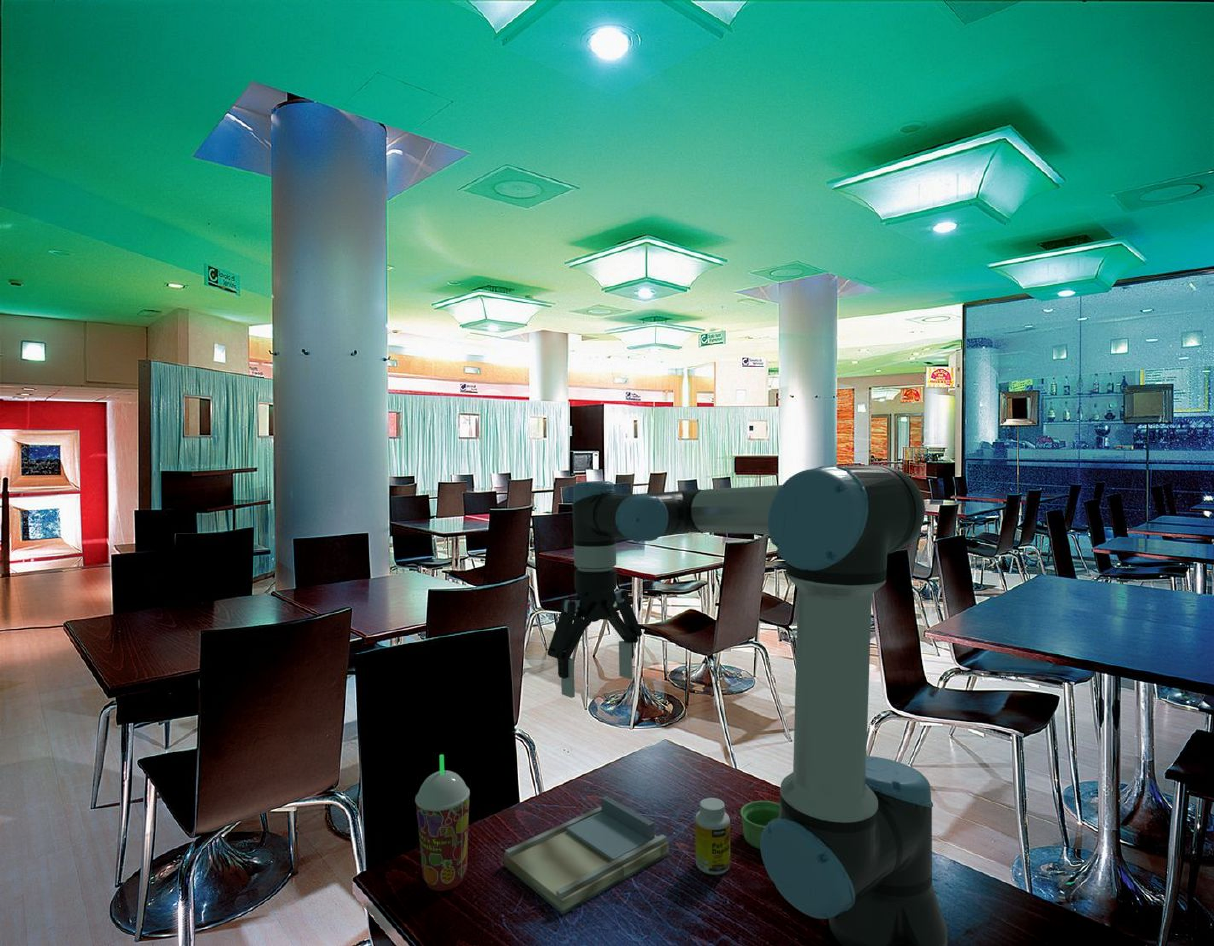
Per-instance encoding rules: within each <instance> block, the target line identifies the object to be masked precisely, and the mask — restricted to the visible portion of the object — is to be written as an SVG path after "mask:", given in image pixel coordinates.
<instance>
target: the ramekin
mask: <svg viewBox="0 0 1214 946" xmlns="http://www.w3.org/2000/svg"><path fill="white" fill-rule="evenodd" d="M779 812H780V802H779V803H778V802H776V801H775V802H774V801H769V800H757V801H751V802H748V803H746V804H745V805H743V806H742V807H741V809H740V817H741V823H742V832H743V838H744V839H745V841H746V842H747V843H748V844H749V845H750V846H752V847H754V848H756V849H759V850H761V849H760V840H761V835H762V832H763V830H764V828H765V827H766V826H767V825H768V823H769V822H770V821H771V820H773V819H775V818H778V817H779Z"/></svg>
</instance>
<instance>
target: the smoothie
mask: <svg viewBox="0 0 1214 946" xmlns="http://www.w3.org/2000/svg"><path fill="white" fill-rule="evenodd" d="M470 790H471V789H470V788H469V787H468V786H467V785H466V782H465V781H464V779H463V778H462V777H461V776H460V774H458V773H457V772H454V771H452V770H445V755H444V754H439V770H438V771H436V772H434V773H432V774H430V775H429V776H427V777H426V779H424V781H423V783H422V784H421V785H420V787H419V791H418V792H417V794H415V798H414V802H415V804H416V807H415V809H416V819H417V829H418V830H417V831H418V840H419V849H420V861H421V871H422V879H423V880H424V882H425V883H426V885H427V888H429V889H431V890H433V891H436V892H445V891H450V890H451V889H454V888H456V887H458V886H459V885H460V884H461V883H462V882H463V880H464V876H465V875H466V873H467V870H468V850H469V849H468V846H469V845H468V844H469V841H468V840H469V820H470V819H469V817H470V813H469V812H470V795H471V791H470Z"/></svg>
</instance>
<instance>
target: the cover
mask: <svg viewBox="0 0 1214 946" xmlns="http://www.w3.org/2000/svg"><path fill="white" fill-rule="evenodd" d="M600 800H601V801H600V807H601V812H600V813H597V814H595V815H593V816H591V817H589V818H587V819H584V820H582V821H580V822H578V823H576V824H574V825H572V826H569V827H567V832H569V833H570V834H572V835H573V836H575V837H576V838H578V839H579V840H581V841H582V842H584V843H585V844H587V845H588V846H590V847H591V848H593V849H594V850H596V851H597V852H599V853H600V854H602V855H603V856H605V857H606V858H608V859H609V860H611V861H613V860H615V859H617V858H619V857H621V856H622V855H624V854H626V853H628V852H630V851H632V850H634V849H636V848H638V847H639V846H641V845H643V844H645V843H647V842H649V841H651V840H653V839H654V838H655V835H656V834H655V822H654V821H652V820H650V819H648V818H647V817H645V816H643V815H642V814H640V813H638V812H636V811H635V810H633V809H631V808H630V807H627V806H626V805H624V804H622V803H620V802H619V801H617V800H615V799H613V798H611V797H609V796H608V795H604V796H602V797H601V798H600Z"/></svg>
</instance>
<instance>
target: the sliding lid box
mask: <svg viewBox="0 0 1214 946" xmlns="http://www.w3.org/2000/svg"><path fill="white" fill-rule="evenodd" d="M600 812H601V806H599V807H597V808H593V809H592V810H589V811H588V812H586V813H584V814H582V815H579V816H577V817H574V818H573V819H569V820H568V821H566V822H564V823H561V824H559V825H557V826H555V827H553V828H551V829H548V830H546V831H544V832H542V833H539V834H538V835H536V836H534V837H531V838H529V839H527V840H525V841H523V842H520V843H518V844H515V845H513V846H511V847H509V848H507V849H505V852H504V853H503V866H504V867H505V868H507V870H509V871H510V872H511V873H513V875H514V876H516V877H517V878H518V879H520V880H521V881H522V882H523V883H525V885H527V887H529V888H530V889H532V890H533V891H534V892H536V894H537V895H539V896H540V897H541V898H543V899H544V900H545V901H546V902H547V903H548V904H549V905H551V906H552V907H553V908H554V909H556V910H557V911H558V912H559V913H560V914H562V915H565V914H566V913H568V912H570V911H571V910H574V909H575V908H577V907H579V906H581V905H582V904H584V903H586V902H588V901H590V900H591V899H593V898H594V897H596V896H598V895H600V894H602V893H604V892H606V891H607V890H609V889H610V888H612V887H614V886H616V885H618V884H619V883H621V882H623V881H625V880H627V879H628V878H630V877H631V876H633V875H636V874H637V873H639V872H641V871H643V870H644V869H646V868H648V867H650V866H652V865H653V864H655V863H657V862H658V861H660V860H662V859H664V858H665V857H667V856H669V855H670V847H669V846H670V843H669V842H668V841H667V836H666V835H664V834H660V835H656V834H655V838H654V839H653V840H651V841H649V842H647V843H645V844H643V845H641V846H639V847H638V848H636V849H634V850H632V851H630V852H628V853H626V854H624V855H622V856H621V857H619V858H617V859H615V860H613V861H611V860H609V859H608V858H606V857H605V856H603V855H602V854H600V853H599V852H597V851H596V850H594V849H593V848H591V847H590V846H588V845H587V844H585V843H584V842H582V841H581V840H579V839H578V838H576V837H575V836H573V835H572V834H570V833H569V832H567V827H569V826H572V825H574V824H576V823H578V822H580V821H582V820H584V819H587V818H589V817H591V816H593V815H595V814H597V813H600Z"/></svg>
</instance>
